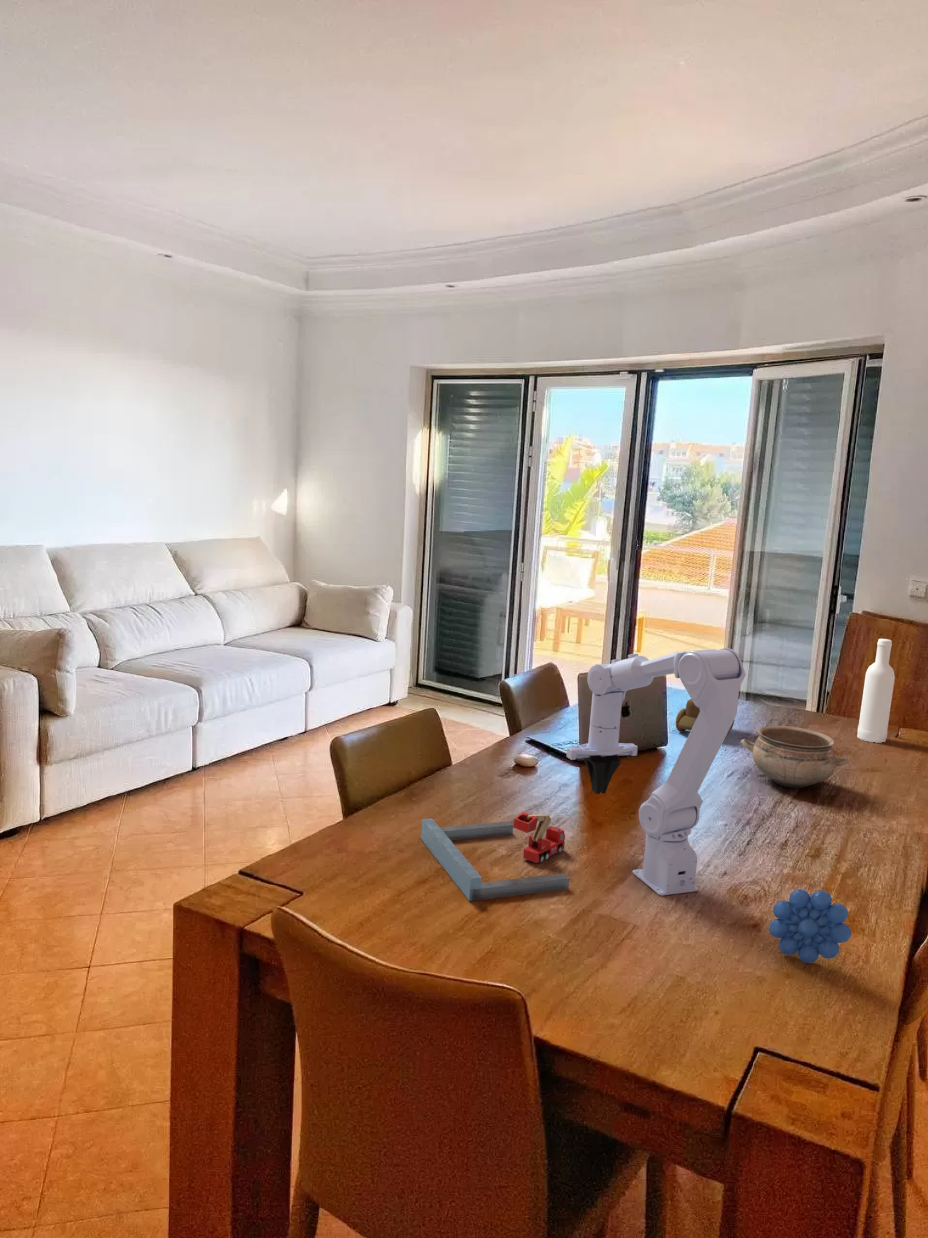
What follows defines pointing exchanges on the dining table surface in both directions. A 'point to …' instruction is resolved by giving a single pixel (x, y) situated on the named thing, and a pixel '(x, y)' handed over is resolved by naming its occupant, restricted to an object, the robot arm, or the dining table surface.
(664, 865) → the robot arm
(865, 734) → the bottle
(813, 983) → the dining table surface
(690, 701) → the wooden toy train
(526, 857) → the toy fire truck
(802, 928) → the blue beaded flower
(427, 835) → the garage
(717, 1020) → the dining table surface
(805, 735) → the cooking pot
